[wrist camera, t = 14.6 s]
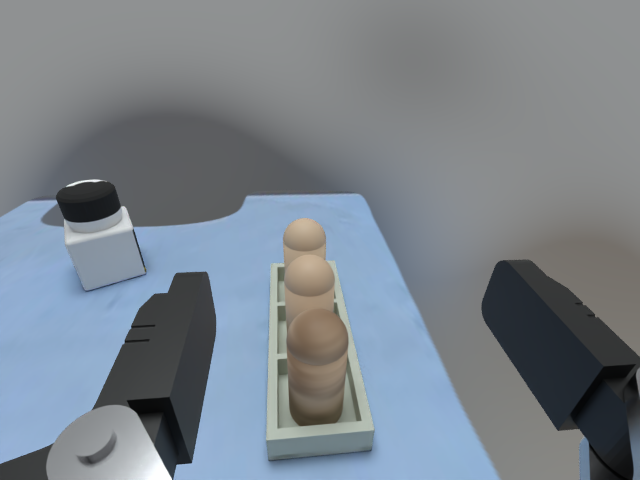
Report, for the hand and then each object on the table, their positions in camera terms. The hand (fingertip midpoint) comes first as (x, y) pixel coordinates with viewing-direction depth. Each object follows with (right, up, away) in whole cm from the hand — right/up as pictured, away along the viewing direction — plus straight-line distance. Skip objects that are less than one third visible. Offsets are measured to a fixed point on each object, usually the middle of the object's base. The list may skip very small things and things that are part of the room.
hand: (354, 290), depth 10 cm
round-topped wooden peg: (-1, -13, +21) cm, 24 cm away
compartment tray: (-2, -10, +27) cm, 29 cm away
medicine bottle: (-29, -3, +38) cm, 47 cm away
